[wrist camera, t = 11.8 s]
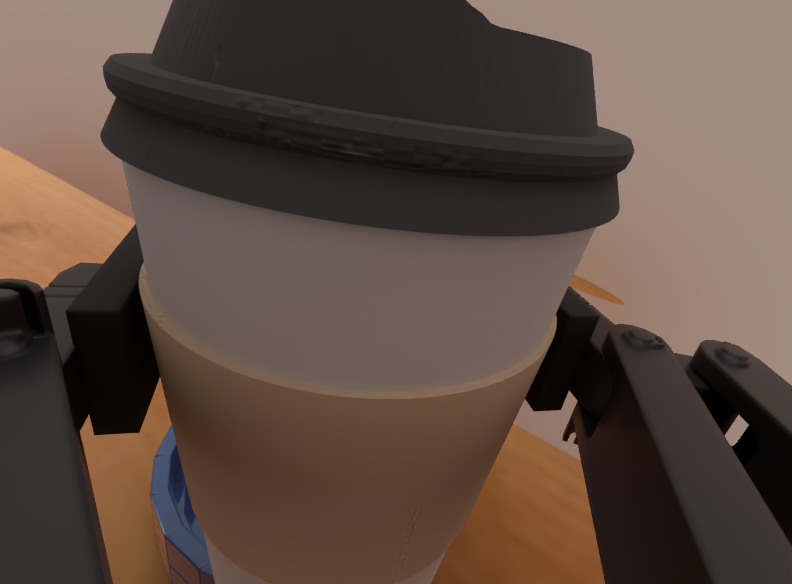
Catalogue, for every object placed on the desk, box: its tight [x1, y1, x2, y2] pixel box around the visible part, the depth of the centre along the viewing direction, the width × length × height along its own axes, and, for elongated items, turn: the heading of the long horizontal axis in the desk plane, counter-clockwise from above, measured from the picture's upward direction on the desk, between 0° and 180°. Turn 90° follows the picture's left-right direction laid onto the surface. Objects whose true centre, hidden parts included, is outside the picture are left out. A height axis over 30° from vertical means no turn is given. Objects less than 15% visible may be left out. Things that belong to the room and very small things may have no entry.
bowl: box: [150, 425, 215, 584], centre depth 25 cm, size 15×15×4 cm
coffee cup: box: [101, 0, 634, 584], centre depth 11 cm, size 9×9×15 cm
